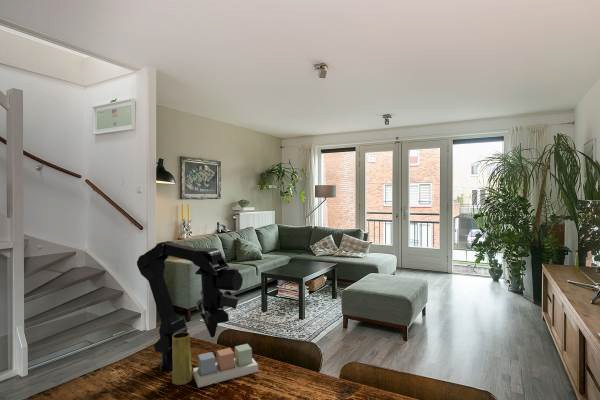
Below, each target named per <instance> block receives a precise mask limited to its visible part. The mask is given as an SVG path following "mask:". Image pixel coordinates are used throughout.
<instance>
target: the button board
mask: <svg viewBox="0 0 600 400" xmlns="http://www.w3.org/2000/svg"><path fill="white" fill-rule="evenodd" d="M215 368H216V373H213V374H210V375H206V376H202V377H201V375H200V373H199V371H198V366H197V367H192V377H193V378H194V381H195V383H196V385H197V386H196V387H197V388H202V387H206V386H209V385H213V383H214V384H218V383H220V382H225V381H228V380H232V379H236V378H239V377H243V376H247V375H250V374H254V373H258V372H259V364H258V362H257V361H256V360H255V359H254V358H253V357H252V364H248V365H244V366H241V367H239V366H238V365H237V363H236V362H235V357H234V368H233V369H229V370H225V371H221V372H220V370H219V368H218V366H217V362H215Z"/></svg>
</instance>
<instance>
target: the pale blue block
mask: <svg viewBox="0 0 600 400" xmlns="http://www.w3.org/2000/svg"><path fill="white" fill-rule="evenodd" d="M215 363H216V356H215V355H214V353H213V352H212V351H209V352H205V353H202V354H201V353H200V354H198V355H197V367H198V371H199V373H200V375H201V376H200V377H202V376H206V375H210V374H213V373H216V368H215Z"/></svg>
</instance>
